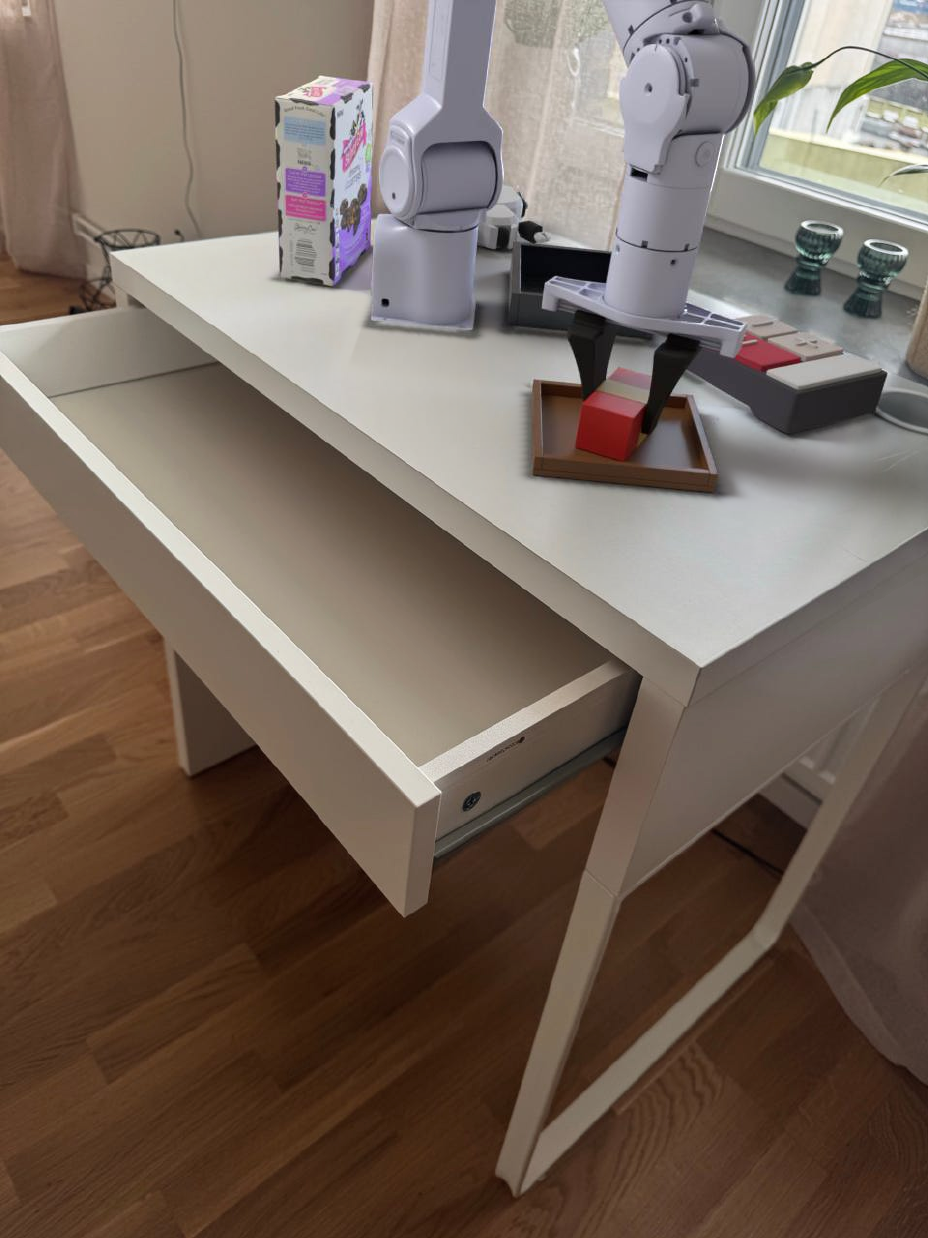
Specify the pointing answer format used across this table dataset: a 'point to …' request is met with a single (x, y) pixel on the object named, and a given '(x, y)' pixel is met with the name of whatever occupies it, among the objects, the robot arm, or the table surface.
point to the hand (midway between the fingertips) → (620, 420)
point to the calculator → (792, 377)
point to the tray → (658, 461)
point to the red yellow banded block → (614, 415)
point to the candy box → (324, 178)
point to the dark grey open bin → (541, 265)
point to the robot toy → (509, 222)
